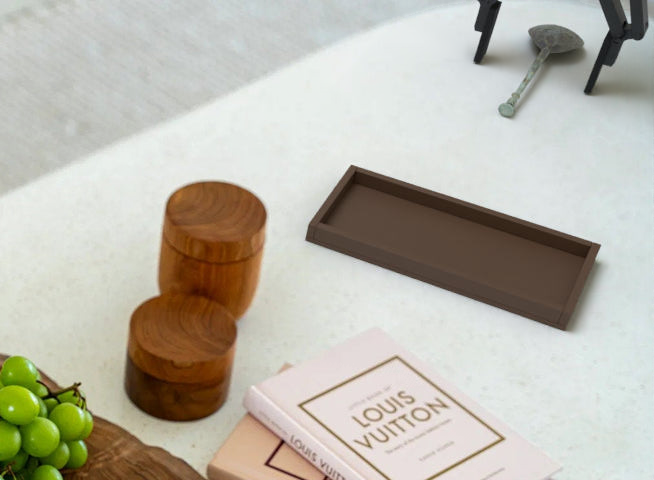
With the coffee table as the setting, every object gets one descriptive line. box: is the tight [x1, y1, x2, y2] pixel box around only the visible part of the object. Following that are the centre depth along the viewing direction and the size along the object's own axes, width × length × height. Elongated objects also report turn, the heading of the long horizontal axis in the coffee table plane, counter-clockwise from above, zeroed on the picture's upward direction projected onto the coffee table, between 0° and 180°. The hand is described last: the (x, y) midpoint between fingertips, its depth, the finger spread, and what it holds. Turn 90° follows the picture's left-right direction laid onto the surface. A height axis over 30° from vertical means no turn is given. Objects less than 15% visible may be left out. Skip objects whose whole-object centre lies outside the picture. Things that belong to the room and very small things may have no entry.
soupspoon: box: [497, 23, 585, 117], centre depth 133 cm, size 22×3×7 cm
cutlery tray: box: [304, 164, 602, 331], centre depth 111 cm, size 25×12×2 cm, turn 59°
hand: (533, 72), depth 134 cm, fingers open, 12 cm apart
